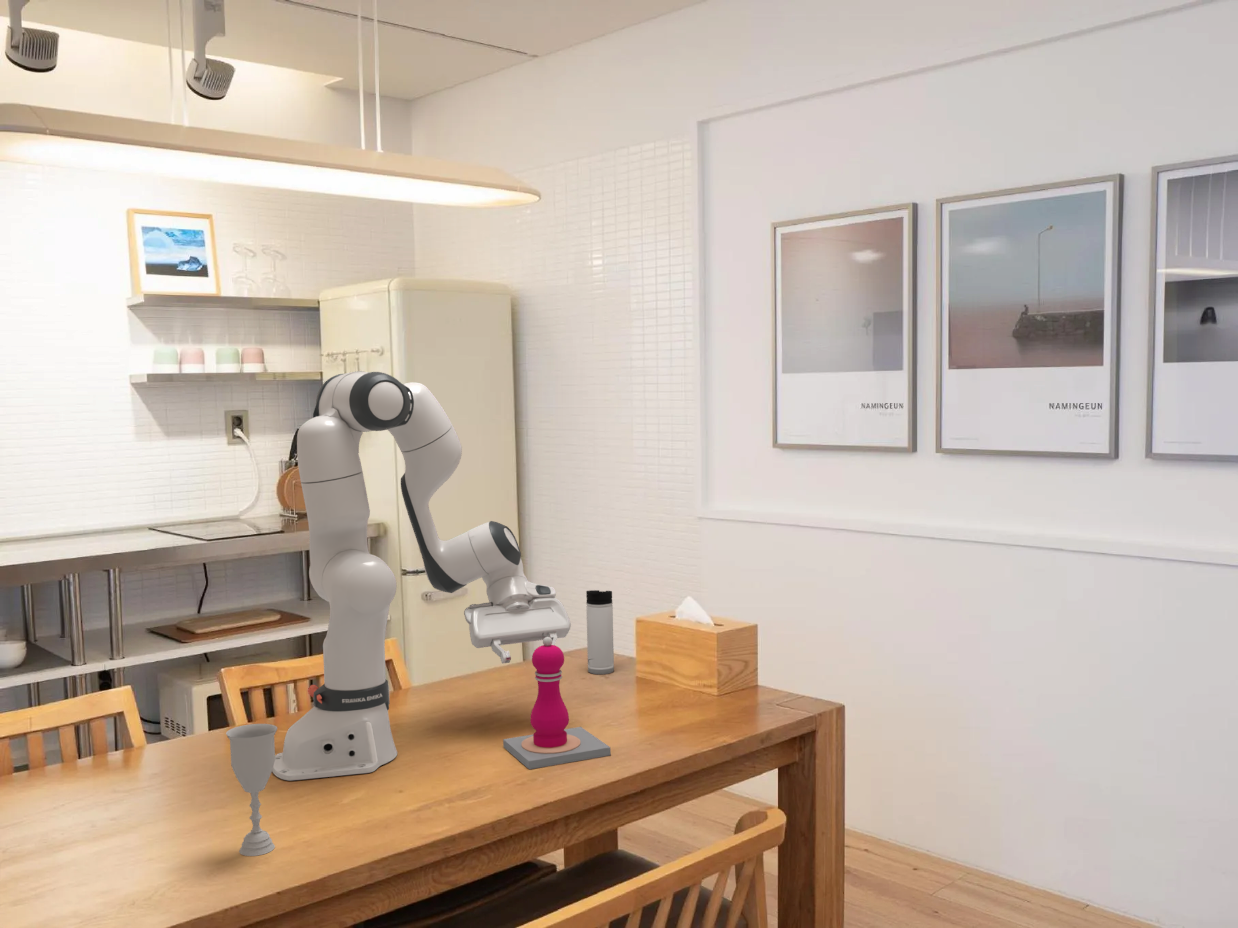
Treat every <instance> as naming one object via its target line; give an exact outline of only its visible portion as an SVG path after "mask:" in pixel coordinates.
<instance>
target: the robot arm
mask: <svg viewBox="0 0 1238 928" xmlns="http://www.w3.org/2000/svg"><path fill="white" fill-rule="evenodd" d="M374 431H375V432H382V431H387V432H389V433H390V434H391V436H392V437H393V438H394V440H395V442H396V444H397V446H398V448H399V451H400V453H401V454H402V456H403V459H404V465H405V468H404V469H405V470H404V473H403V475H402V476H401V478H400V489H401V495H402V498H403V499H402V500H403V503H404V505H405V508H406V513H407V515H408V518H409V521H410V524H411V526H412V527H411V528H412V531H413V533H414V536H415V539H416V542H417V545H418V547H419V551H420V553H421V554H420V555H421V558H422V561H423V568H424V572H425V575H426V578H427V580H428V582H429V583H430V584H431V586H432V587H433V588H434V589H435V590H438V591H440V592H442V593H449V594H453V593H455V592H456V591H458V590H460V589H462V588H464V587H466V586H467V585H468V584H470V583H472V582H474V581H477V580H479V579H481V580H483V582H484V583H485V585H486V596H487V599H488V602H483V603H477V604H476V603H472V604H470V605H469V606H467V607H466V608H465V609H464V611H463V615H464V619H465V621H466V623H467V624H468V629H469V637H470V643H471V644H472V646H474V647H475V648H476V649H480V648H489V647H491V651H492V652H494V653H495V654H496V655H497V656H498V657H499V659H500V662H501V664H503V665H504V664H508V663H510V662H511V659H512V657H511V655H510V654H511V653H510V651H509V650H505V649H504V648H503V647H501V646H504V645H505V646H506V645H513V644H523V643H529V642H537V641H543V639H544V638H545V637H550V638H551V639H552V644H551V645H555V646H556V643H557V639H561V638H562V639H563V638H566V637H567V636H568V634H569V633H570V630H571V627H572V626H571V625H572V623H571V620H570V617H569V614H568V611H567V610H566V608H565V606H564V604H563V602H561V600H560V599H559V598H556V597H557V596H556V595H557V591H556V589H555V587H553V586H551V585H550V586H549V585H544V584H539V583H535V582H531V581H529V580H528V578H527V576H526V575H525V572H524V564H523V560H522V553H521V549H520V547H519V543H518V541H517V538H516V536H515V534H514V533H513V531H512V530H511V529H510V528H509V526H506V525H504V524H502V523H501V522H500V523H499V522H498V521H493V520H490V521H487V522H484V523H482V524H479V525H477V526H475V527H473V528H470V529H469V530H467V531H465V532H463V533H460V534H459V535H456V536H454V537H452V538H450V539H447V540H443V539H440V538H439V534H438V531H437V528H436V526H435V522H434V519H433V517H432V512H431V510H430V506H429V503H430V501H431V499H432V497H433V496H434V495H435V493H436V492H437V491H438V490H439V489H440V488H441V487H442V486H443V485H444V484H445V483H446V482H447V481H448V480H449V479H451V476H453V474H454V473H455V471H456V470H457V468H458V466H459V464H460V462H461V459H462V455H463V446H462V443H461V441H460V438H459V436H458V433H457V432H456V429H455V427H454V425H453V423H452V421H451V419H450V418H449V416H448V414H447V413H446V411H445V410H444V407H442V405H441V403H440V402H439V401H438V399H437V397H435V395H434V394H433V393H432V391H431V390H430V389H429V388H428V387H427V386H426V385H425V384H423V383H420V382H415V381H410V382H406V383H401V381H400V380H399V379H397V378H396V377H394V376H393V375H391V374H388V373H386V372H382V371H381V372H380V371H362V370H359V371H357V370H356V371H352V372H351V371H350V372H346V373H340V374H336V375H333V376H332V377H330V378H328V379H327V380H326V381H324V383H322V384H321V386H320V388H319V390H318V392H317V395H316V400H315V407H314V410H313V413H312V418H309V419H308V420H306V421H305V422H304V423H302V424H301V426H300V427H299V429H298V430H297V436H296V455H297V467H298V473H299V474H298V475H299V478H300V479H299V480H300V485H301V490H302V497H303V502H304V505H305V512H306V516H307V523H308V532H309V533H308V534H309V535H308V536H309V538H308V539H309V560H310V561H309V563H310V564H309V565H310V566H309V570H308V576H309V581H310V583H311V585H312V588H313V589H314V591H315V592H316V594H317V595H318V596H319V597H320V598H321V599H322V600H324V601H326V602H327V603H328V604H329V608H330V609H329V620H328V626H327V632H326V635H325V638H324V640H323V643H322V650H323V651H322V652H323V653H322V654H323V658H322V659H323V676H324V677H323V678H324V679H323V680H324V683H323V684H322V685H320V687H318V685H317V684H311V685H309V687H307V694H308V695H309V696H310V697H311V698H313V707H312V708H310V710H308V711H307V712H306V713H305V714H304V715H303V716H302V717H300V718H299V719H298V720H297V721H296V722H294V723H293V724H292V725H291V726H290V727H289V728H288V730H287V732H286V733H285V736H284V741H283V748H282V749H283V750H282V752H279V753H277V754H275V762H274V766H273V769H272V772H271V773H273V775H274V776H276V777H277V778H278V779H281V780H284V781H301V780H311V779H319V778H328V777H329V778H331V777H339V776H351V775H359V774H361V775H362V774H369V773H372V772H374V771H376V770H377V769H378V768H379V767H381V766H382V765H385V764H388V763H389V762H391V761H393V760H394V759H395V758H397V756H398V750H397V748H396V744H395V742H394V738H393V737H394V736H393V734H392V729H391V723H390V717H389V710H390V686H389V681H388V679H387V678H386V654H385V653H386V648H385V644H386V643H385V641H386V630H387V624H388V619H389V612H390V607H391V604H392V601H393V600H394V598H395V595H396V592H397V579H396V575H395V574H394V572H393V571H392V569H391V568H390V566H389V565H388V563H386V561H384V560H383V559H382V558H381V557H378V556H377V555H374V554H372V553H370V550H369V546H368V521H369V518H370V514H371V509H370V503H369V498H368V493H367V488H366V482H365V476H364V473H363V472H364V471H363V467H362V462H361V459H360V455H359V454H360V451H359V450H360V443H361V442H360V441H361V437H362V435H363V434H364V433H365V432H366V433H367V432H374Z"/></svg>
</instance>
